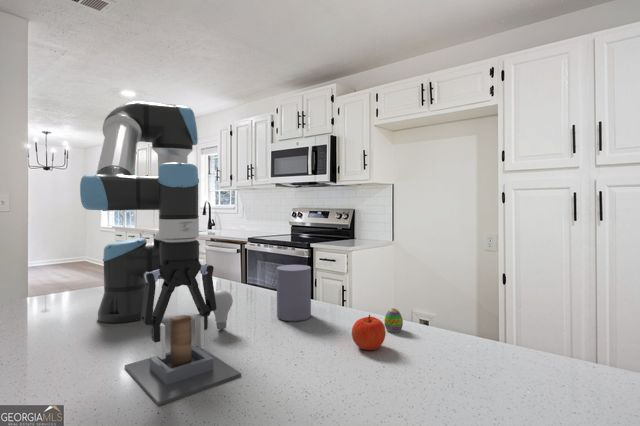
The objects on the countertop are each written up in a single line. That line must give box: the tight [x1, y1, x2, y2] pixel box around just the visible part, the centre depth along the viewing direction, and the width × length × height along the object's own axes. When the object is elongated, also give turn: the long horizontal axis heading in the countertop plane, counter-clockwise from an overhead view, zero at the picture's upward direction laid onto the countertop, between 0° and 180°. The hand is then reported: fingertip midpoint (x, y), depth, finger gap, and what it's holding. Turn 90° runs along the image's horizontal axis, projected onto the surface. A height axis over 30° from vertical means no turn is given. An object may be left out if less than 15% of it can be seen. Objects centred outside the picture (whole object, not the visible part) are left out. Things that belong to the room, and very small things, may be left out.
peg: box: [169, 314, 193, 369], centre depth 76 cm, size 4×4×10 cm
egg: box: [383, 308, 404, 333], centre depth 100 cm, size 5×5×6 cm
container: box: [276, 264, 312, 322], centre depth 113 cm, size 10×10×15 cm
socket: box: [124, 345, 242, 407], centre depth 76 cm, size 20×16×3 cm
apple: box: [351, 314, 386, 351], centre depth 89 cm, size 8×8×8 cm
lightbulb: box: [212, 289, 234, 331], centre depth 101 cm, size 6×6×11 cm
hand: (181, 351), depth 76 cm, fingers open, 7 cm apart
